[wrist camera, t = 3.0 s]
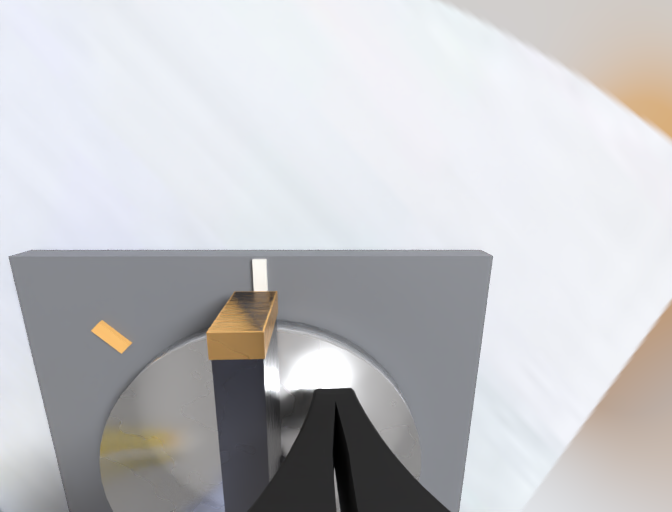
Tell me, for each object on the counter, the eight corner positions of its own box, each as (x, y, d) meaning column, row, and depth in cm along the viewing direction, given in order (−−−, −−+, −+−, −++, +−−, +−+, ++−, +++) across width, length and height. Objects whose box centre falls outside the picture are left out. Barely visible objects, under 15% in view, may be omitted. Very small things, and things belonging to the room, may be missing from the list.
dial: (405, 557, 17) (431, 675, 13) (136, 570, 16) (77, 699, 12) (428, 281, 13) (475, 329, 9) (83, 283, 12) (-25, 335, 9)
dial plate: (441, 566, 19) (450, 593, 17) (104, 584, 18) (89, 613, 17) (481, 250, 14) (495, 257, 13) (31, 250, 13) (3, 257, 12)
